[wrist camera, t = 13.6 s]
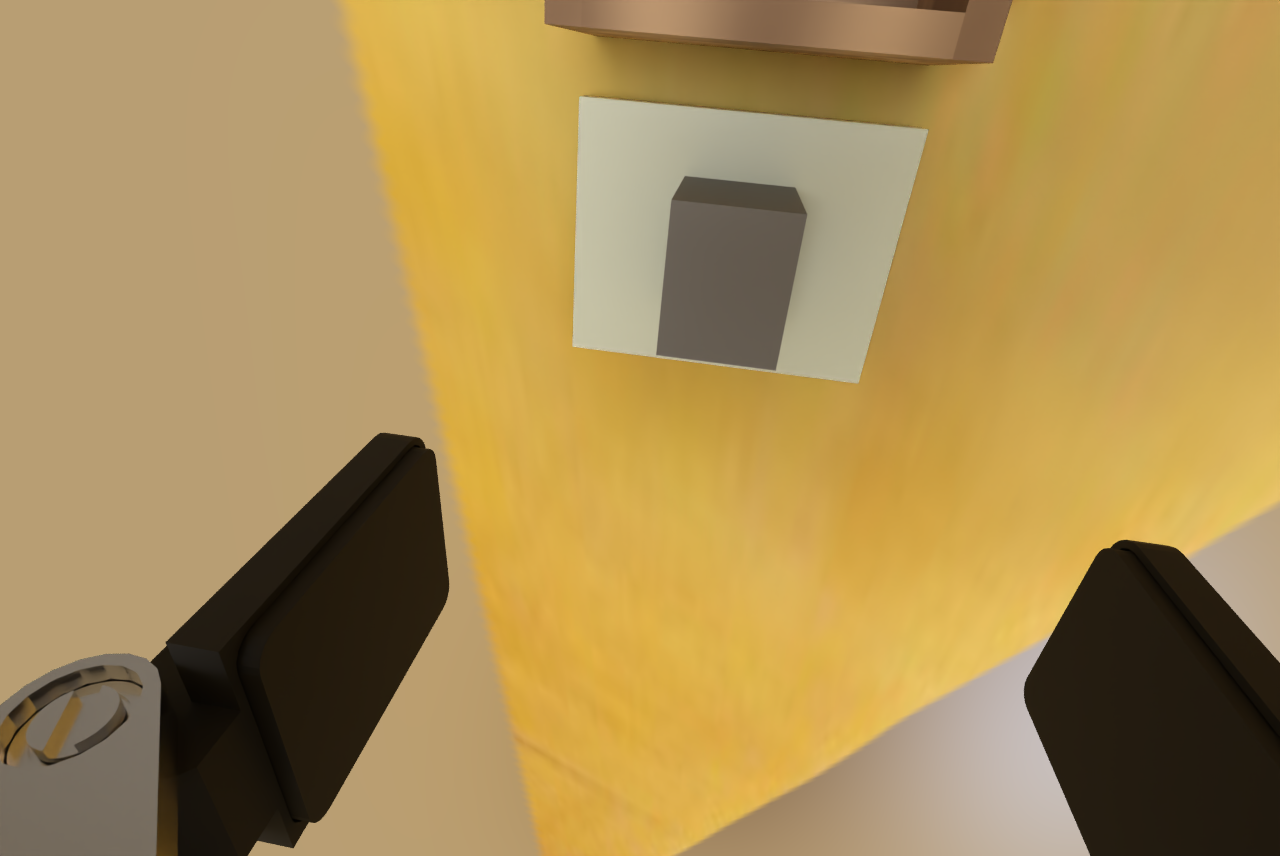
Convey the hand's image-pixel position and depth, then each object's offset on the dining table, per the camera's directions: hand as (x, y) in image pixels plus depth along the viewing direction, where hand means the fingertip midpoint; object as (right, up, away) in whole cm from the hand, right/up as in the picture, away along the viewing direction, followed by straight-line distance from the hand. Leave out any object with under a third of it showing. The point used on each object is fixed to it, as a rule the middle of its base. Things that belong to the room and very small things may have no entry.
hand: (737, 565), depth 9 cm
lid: (+3, +11, +21) cm, 24 cm away
